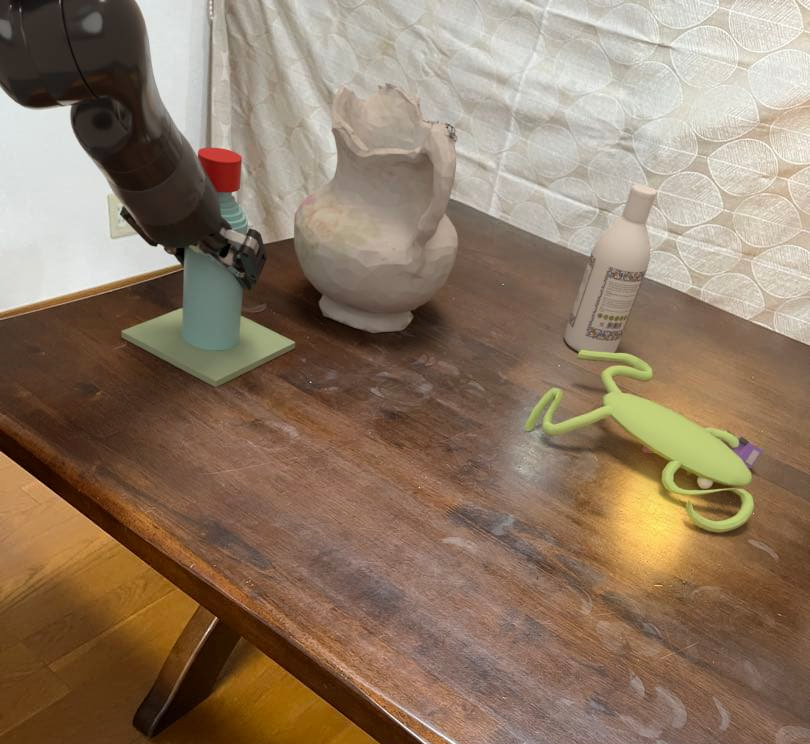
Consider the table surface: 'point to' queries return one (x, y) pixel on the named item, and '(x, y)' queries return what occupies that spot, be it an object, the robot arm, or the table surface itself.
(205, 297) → the bottle
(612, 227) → the bath foam
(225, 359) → the mat
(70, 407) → the table surface
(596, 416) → the figurine
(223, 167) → the cap
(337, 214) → the ceramic pitcher
